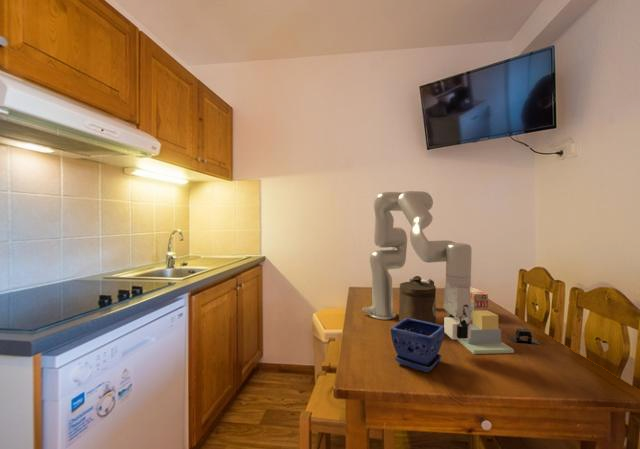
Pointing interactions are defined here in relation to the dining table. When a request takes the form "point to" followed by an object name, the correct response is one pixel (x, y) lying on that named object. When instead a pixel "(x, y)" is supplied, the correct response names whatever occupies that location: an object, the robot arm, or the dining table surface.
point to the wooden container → (417, 301)
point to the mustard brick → (485, 320)
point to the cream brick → (454, 327)
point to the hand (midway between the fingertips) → (456, 333)
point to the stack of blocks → (478, 300)
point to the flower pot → (417, 343)
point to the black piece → (518, 338)
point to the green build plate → (487, 347)
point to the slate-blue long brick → (483, 336)
